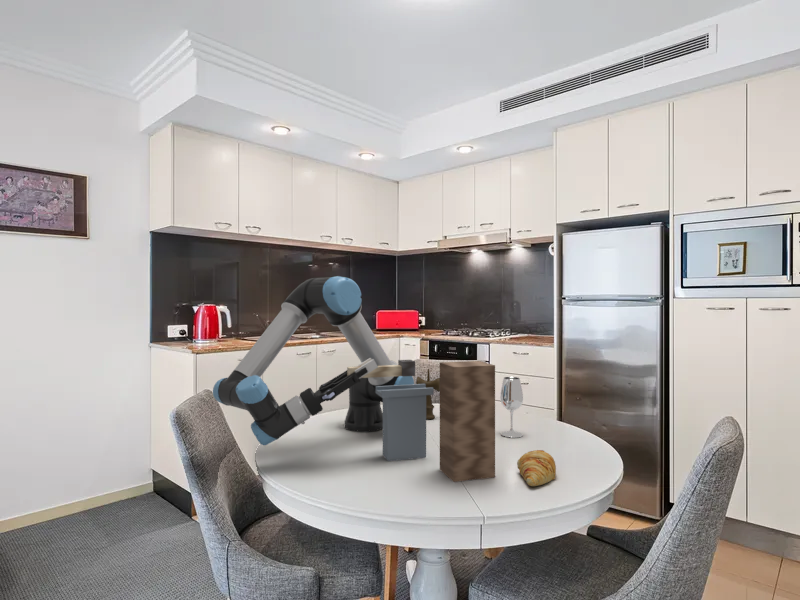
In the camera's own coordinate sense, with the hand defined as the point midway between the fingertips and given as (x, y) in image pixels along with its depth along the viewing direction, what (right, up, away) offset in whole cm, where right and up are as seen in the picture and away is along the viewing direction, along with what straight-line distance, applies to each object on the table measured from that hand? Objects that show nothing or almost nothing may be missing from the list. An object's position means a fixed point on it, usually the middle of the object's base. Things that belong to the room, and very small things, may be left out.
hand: (373, 362), depth 148 cm
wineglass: (+47, -29, +26) cm, 61 cm away
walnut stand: (+26, -29, -12) cm, 41 cm away
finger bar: (+2, -4, +1) cm, 5 cm away
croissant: (+45, -29, -14) cm, 55 cm away
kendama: (+19, -29, +50) cm, 61 cm away
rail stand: (+9, -29, +3) cm, 30 cm away
